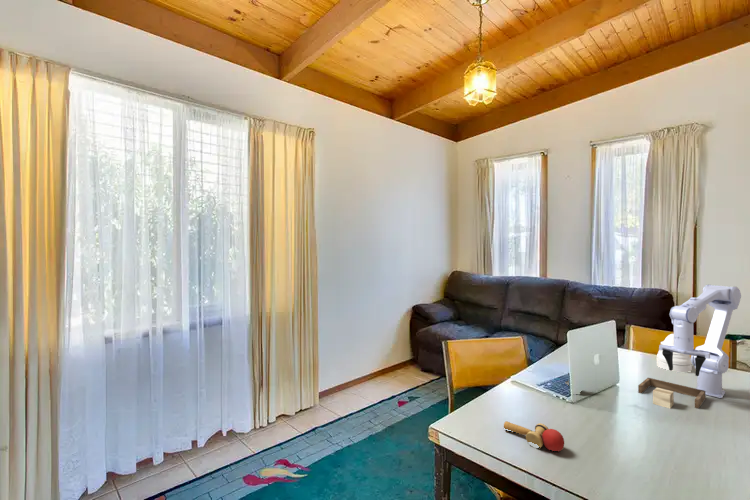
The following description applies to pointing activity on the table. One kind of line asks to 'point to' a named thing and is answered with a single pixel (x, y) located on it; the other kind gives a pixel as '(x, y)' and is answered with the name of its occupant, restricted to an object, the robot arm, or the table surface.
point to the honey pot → (674, 358)
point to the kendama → (539, 435)
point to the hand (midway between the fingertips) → (683, 372)
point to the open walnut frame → (674, 389)
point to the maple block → (663, 397)
